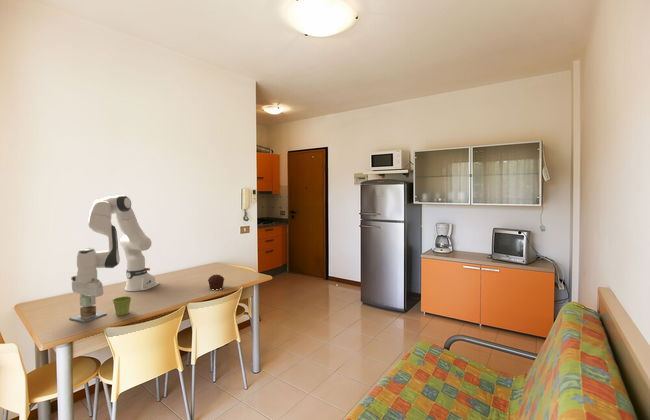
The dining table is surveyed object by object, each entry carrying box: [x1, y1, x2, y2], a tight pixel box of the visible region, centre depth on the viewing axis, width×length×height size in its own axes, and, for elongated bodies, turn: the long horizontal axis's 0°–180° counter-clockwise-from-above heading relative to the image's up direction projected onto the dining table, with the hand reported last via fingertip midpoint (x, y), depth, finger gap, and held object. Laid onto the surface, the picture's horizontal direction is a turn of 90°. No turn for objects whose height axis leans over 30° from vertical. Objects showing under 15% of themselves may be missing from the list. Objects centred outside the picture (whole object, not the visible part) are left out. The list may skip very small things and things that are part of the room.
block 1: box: [79, 295, 97, 307], centre depth 172 cm, size 5×5×5 cm
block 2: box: [79, 304, 97, 318], centre depth 172 cm, size 5×5×5 cm
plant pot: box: [112, 295, 133, 317], centre depth 178 cm, size 9×9×9 cm
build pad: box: [69, 310, 108, 324], centre depth 173 cm, size 12×12×1 cm
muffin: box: [207, 274, 225, 291], centre depth 226 cm, size 12×11×10 cm
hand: (88, 302), depth 172 cm, fingers closed on block 1, 5 cm apart
